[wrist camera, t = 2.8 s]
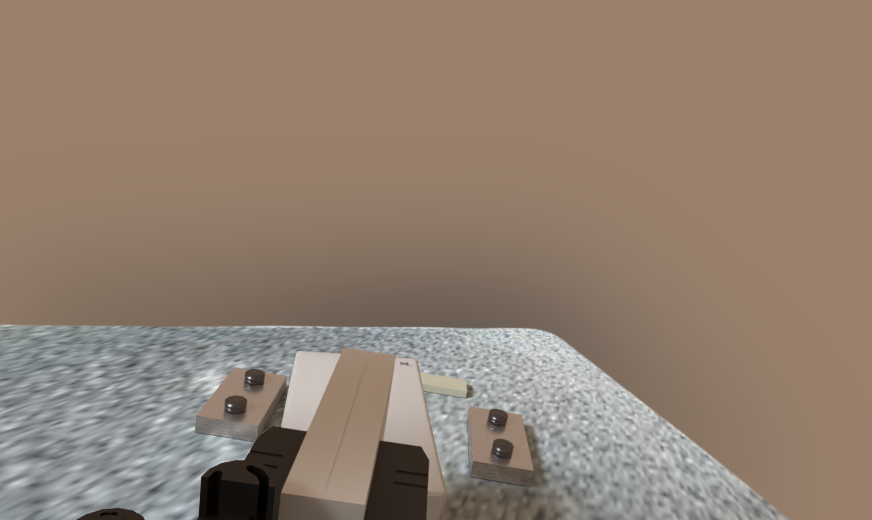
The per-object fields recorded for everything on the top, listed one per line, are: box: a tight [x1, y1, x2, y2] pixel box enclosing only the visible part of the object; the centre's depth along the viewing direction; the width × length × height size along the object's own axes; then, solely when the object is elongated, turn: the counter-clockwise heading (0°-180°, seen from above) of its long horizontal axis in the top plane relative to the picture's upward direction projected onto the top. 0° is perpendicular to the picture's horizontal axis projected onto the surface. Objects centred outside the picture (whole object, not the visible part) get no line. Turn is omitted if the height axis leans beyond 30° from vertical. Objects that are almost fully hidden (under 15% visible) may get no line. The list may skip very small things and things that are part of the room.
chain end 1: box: [195, 368, 287, 442], centre depth 42 cm, size 4×7×2 cm, turn 179°
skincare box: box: [281, 351, 447, 520], centre depth 26 cm, size 10×6×10 cm, turn 8°
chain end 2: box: [467, 407, 534, 486], centre depth 42 cm, size 4×7×2 cm, turn 179°
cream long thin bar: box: [420, 373, 467, 398], centre depth 50 cm, size 14×2×1 cm, turn 89°
